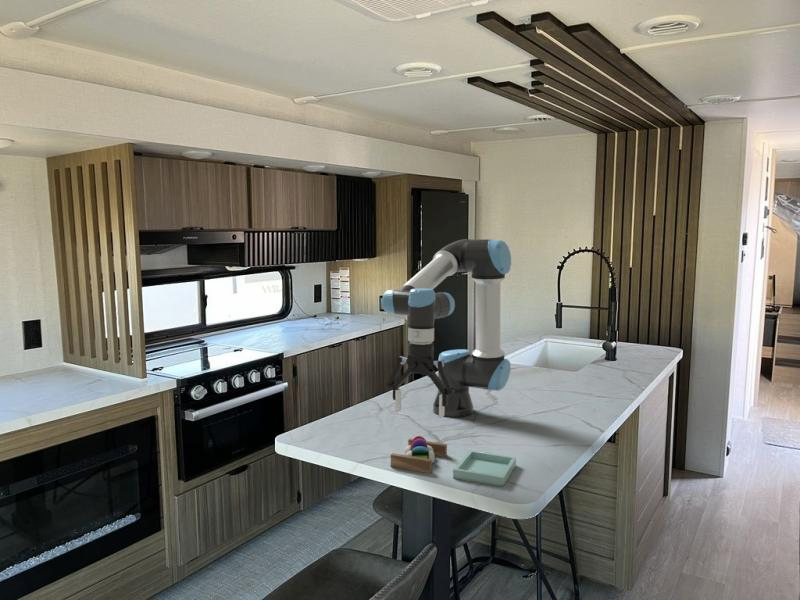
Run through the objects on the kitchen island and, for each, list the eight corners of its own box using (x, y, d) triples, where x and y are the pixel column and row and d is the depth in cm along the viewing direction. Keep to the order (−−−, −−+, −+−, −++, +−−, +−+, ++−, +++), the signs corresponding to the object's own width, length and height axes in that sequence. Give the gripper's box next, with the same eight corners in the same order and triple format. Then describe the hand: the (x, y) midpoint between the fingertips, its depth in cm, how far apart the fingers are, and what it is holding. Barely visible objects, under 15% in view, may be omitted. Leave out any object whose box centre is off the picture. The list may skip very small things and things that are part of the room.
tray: (469, 458, 181) (469, 450, 181) (516, 465, 176) (516, 457, 175) (453, 478, 166) (453, 469, 166) (503, 486, 161) (503, 477, 161)
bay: (410, 449, 188) (410, 438, 188) (446, 455, 183) (446, 444, 183) (390, 466, 174) (390, 454, 174) (429, 473, 170) (429, 461, 169)
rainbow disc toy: (432, 455, 184) (432, 432, 183) (435, 467, 174) (435, 443, 173) (404, 455, 183) (404, 432, 183) (405, 467, 174) (406, 443, 173)
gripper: (376, 340, 176) (375, 411, 178) (458, 347, 166) (456, 422, 169) (386, 336, 183) (385, 405, 185) (466, 343, 173) (464, 415, 175)
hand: (419, 413), depth 177 cm, fingers open, 13 cm apart
